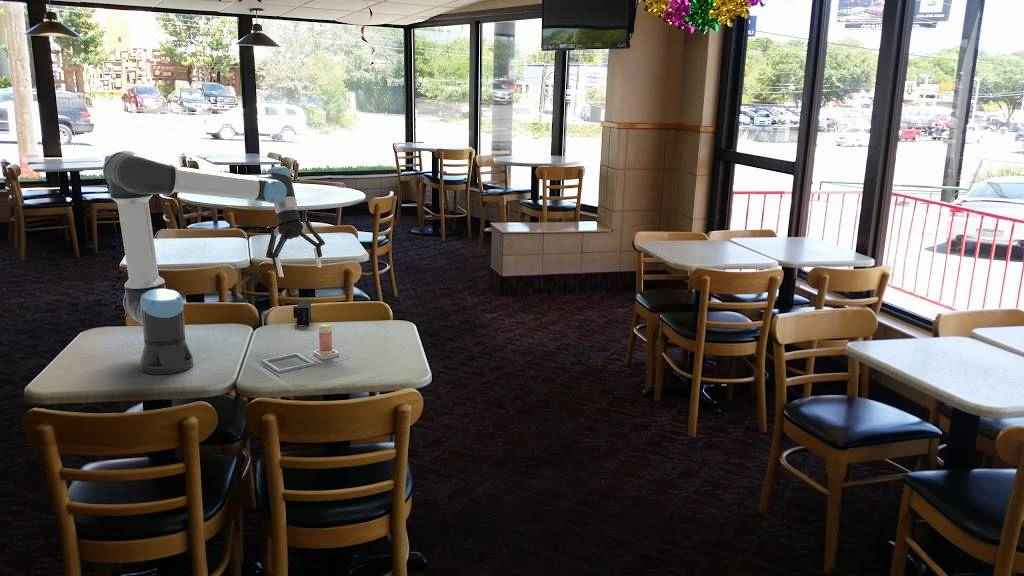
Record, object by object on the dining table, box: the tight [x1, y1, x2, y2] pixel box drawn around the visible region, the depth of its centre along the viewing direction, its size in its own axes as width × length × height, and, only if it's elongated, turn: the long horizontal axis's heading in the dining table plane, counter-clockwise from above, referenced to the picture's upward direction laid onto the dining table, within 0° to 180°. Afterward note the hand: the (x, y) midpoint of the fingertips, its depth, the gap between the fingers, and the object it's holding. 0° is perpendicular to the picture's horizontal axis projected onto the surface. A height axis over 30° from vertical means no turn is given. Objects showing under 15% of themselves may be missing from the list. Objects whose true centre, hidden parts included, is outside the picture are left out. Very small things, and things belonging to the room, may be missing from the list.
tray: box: [261, 352, 315, 378], centre depth 246 cm, size 12×12×2 cm
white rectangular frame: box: [301, 347, 351, 365], centre depth 254 cm, size 10×14×3 cm
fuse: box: [318, 323, 334, 355], centre depth 253 cm, size 4×4×10 cm
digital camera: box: [292, 299, 312, 327], centre depth 293 cm, size 10×5×7 cm, turn 10°
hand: (300, 272), depth 269 cm, fingers open, 13 cm apart
